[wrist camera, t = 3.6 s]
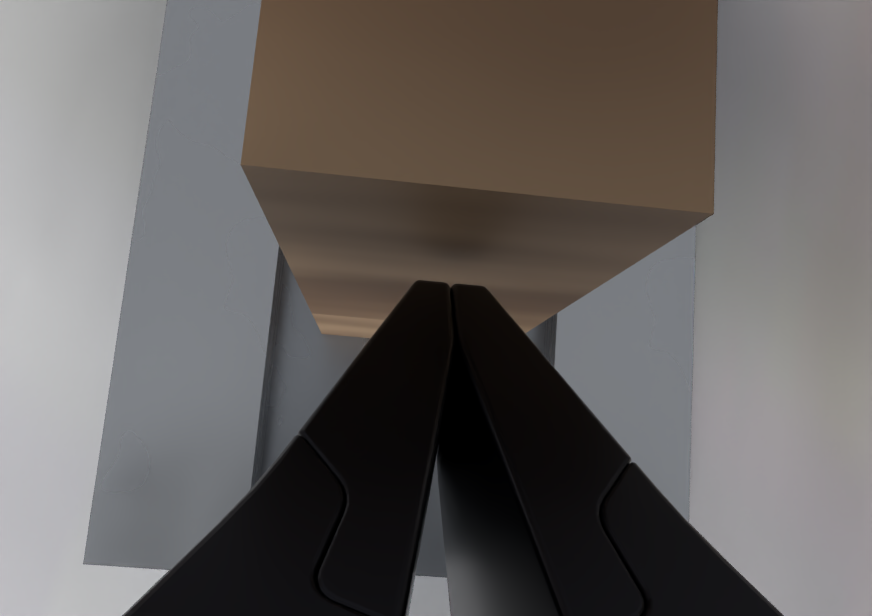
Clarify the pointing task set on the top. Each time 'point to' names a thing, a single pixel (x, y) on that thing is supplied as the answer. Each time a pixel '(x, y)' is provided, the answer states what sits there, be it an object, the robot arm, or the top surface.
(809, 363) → the top surface
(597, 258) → the brown block
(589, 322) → the slot bed
